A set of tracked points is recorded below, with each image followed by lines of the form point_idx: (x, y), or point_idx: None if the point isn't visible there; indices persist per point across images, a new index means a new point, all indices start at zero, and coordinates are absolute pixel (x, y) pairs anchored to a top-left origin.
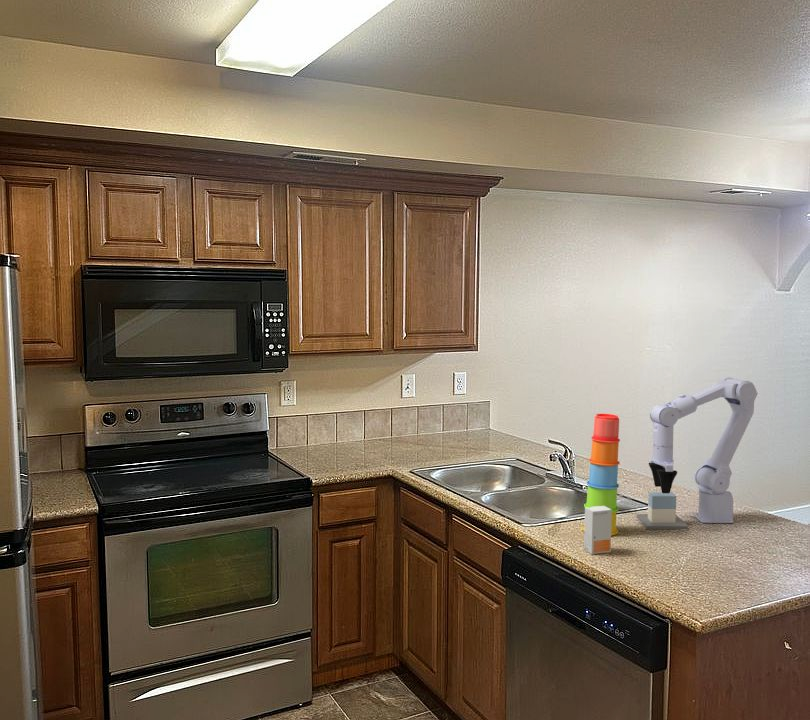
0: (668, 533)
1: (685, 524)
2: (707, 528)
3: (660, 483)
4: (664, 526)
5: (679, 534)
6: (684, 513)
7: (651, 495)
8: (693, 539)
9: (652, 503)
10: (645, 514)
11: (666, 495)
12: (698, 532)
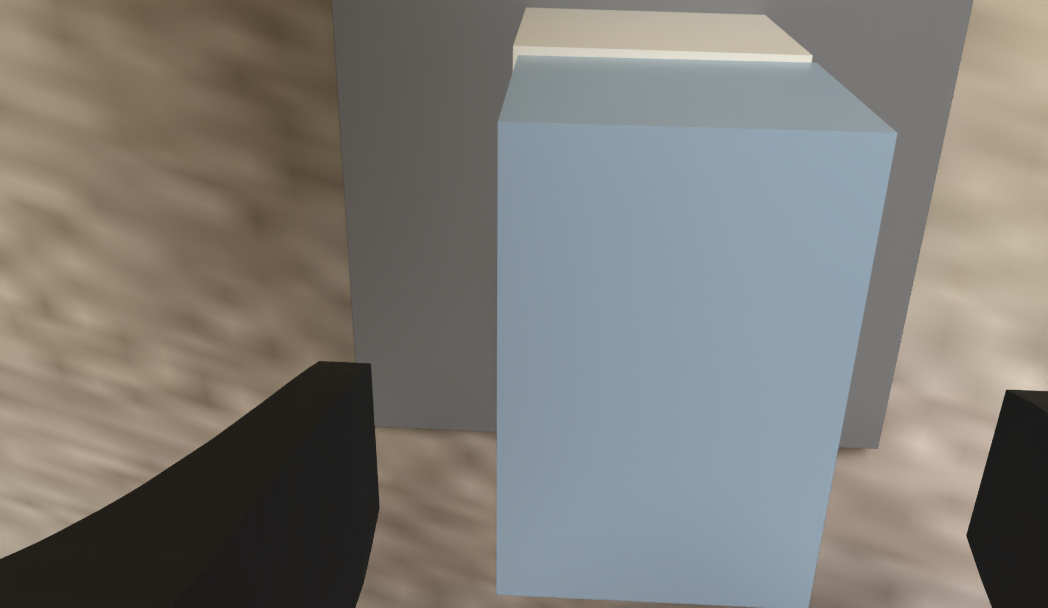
0: (194, 133)
1: (434, 422)
2: (429, 597)
3: (1011, 553)
4: (341, 141)
5: (174, 255)
6: None
7: (596, 122)
8: (12, 347)
9: (512, 82)
10: (951, 31)
11: (560, 444)
12: None
